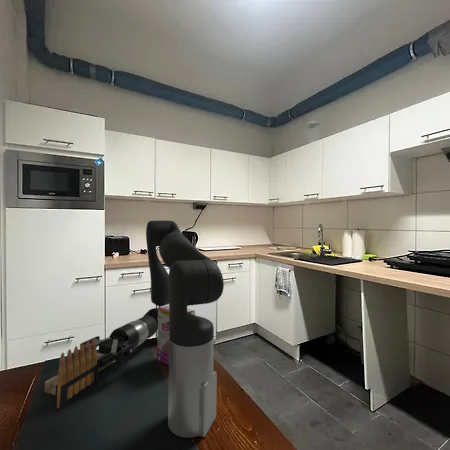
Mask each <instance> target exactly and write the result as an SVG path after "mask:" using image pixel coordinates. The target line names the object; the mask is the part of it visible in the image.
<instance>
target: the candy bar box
mask: <svg viewBox="0 0 450 450" xmlns="http://www.w3.org/2000/svg"><path fill="white" fill-rule="evenodd" d="M157 308H158V320H157V331H156V334H157V335H156V337H157V338H156V361H157V362H159V363H160V364H163V365H166V366H168V367H169V304H167V305H163V306H160V307H159V306H157ZM187 312H188V313H190V314H192V315H196V310H195V309H192V308H188V307H187Z"/></svg>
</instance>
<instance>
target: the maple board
mask: <svg viewBox="0 0 450 450" xmlns="http://www.w3.org/2000/svg"><path fill="white" fill-rule="evenodd" d="M104 355H106V354H99V355H97V360H98V359H99V358H101V357H102V356H104ZM111 364H112V362H110V363H109V364H107V365H106V366H103V367H102V368H100V369H99V368H98V373H99V372H100V371H102V370H104V369H105V368H107V367H108V366H110V365H111ZM57 382H58V374H57V375H55V376H53V377H51V378H50V379H47V380H45V381H44V393H47V394H50V395H53V396H55V392H56V385H57Z"/></svg>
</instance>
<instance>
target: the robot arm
mask: <svg viewBox="0 0 450 450" xmlns="http://www.w3.org/2000/svg"><path fill="white" fill-rule="evenodd" d="M145 236H146V237H145V240H146V250H147V259H148V266H149V274H150V300H151V303H152V304H154V305H155V306H157V307H154V308H151V309H149V310H148V311H147V312H146V313H145V314H144V315H142V317H140V318H138V319H136V320H132V321H129V322H128V323H126V324H123V325H121V326H118V327H117V328H115V329H113V330H112V332H111V333H110V335H109V336H108V337H104V338H103V339H101V337H100V336H99V335H97V336H94V337H92V338H90V339H88V340H89V342H90V346H91V344H92V340H93V338H95V340H96V349H97V348H98V350H96V351H97V355H99V354H106V355H104V356H102V357H101V358H99V359H98V360H97V368H99V369H100V368H102V367H103V366H106V365H107V364H109V363H110V362H111V363H115V362H117V363H119V364H120V363H123V362H125V361H126V360H127V359H128V358H130V357H131V356H133V355H134V354H135V351H136V348H137V347H139V346H140V345H141V344H143V343H144V342H145V341H146V340H149V339H150V338H151V337H153V336H154V335H155V334H157V320H158V307H160V306H163V305H167V304H169V366H168V388H167V390H168V392H167V394H168V395H167V403H168V404H167V406H168V407H167V426H168V428H169V430H170V432H171V433H172V434H174V435H175V436H177V437H181V438H187V439H188V438H189V439H190V438H196V437H202V438H205V437H206V435H207V433H208V432H209V430H210V428H211V426H212V424H213V423H214V421H215V419H216V418H217V377H218V376H217V374H218V373H217V371H216V370H214V341H215V339H214V337H215V332H214V331H215V330H214V329H215V328H214V323H213V322H212V321H211V320H210V319H208V318H206V317H203V316H199V315H196V314H195V315H192V314H190V313H188V312H187V308H188V306H199V305H207V304H212V303H214V302H217V301H218V300H219V299H220V298H221V296H222V295H223V292H224V289H225V288H224V287H225V286H224V285H225V284H224V277H223V273H222V271H221V269H220V267H219V266H218V265H217V263H216V262H215V261H214V260H213V259H211V258H209V256H206V255H205V254H204V253H203V252H201V251H199V249H197V247H195V246H194V245H193V243H191V241H190V240H189V239H188V238H187V237H186V236H185V235H184V234H183V233H182V231H181V230H180V228H179V226H178V224H177V222H175V221H174V220H170V219H169V220H168V219H167V220H149V221H148V222H147V224H146V229H145ZM157 247H158V251H159V252H158V253H159V255H160V258H161V260H162V261H161V260H160V258H159V256H158V253H157ZM162 262H163V263H162ZM163 264H164V265H165V266H166V267H167V268H168V269H169V270H168V271H167V270H166V267H164V265H163ZM88 340H85V341H83V342H81V343H79V347H80V346H81V344H82V343H83V344H84V348H86V343H87V341H88ZM79 351H80V348H78V352H79ZM72 361H73V352H72Z"/></svg>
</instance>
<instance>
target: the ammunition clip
mask: <svg viewBox="0 0 450 450" xmlns="http://www.w3.org/2000/svg"><path fill="white" fill-rule="evenodd" d="M92 338H93V340H92V344H91V346H90V342H89V340H90V339H88V341H87V340H86V341H87V343H86V348H84V344H83V342H81V343H82V344H81V343H80V344H81V346H80V345H79V347H78V346H77V345H75V347H74V348H73V349H74V350H73V352H72V350H71V349H68V351H67V353H66V354H67V355H66V356H65V353H64V352H61V354H60V358H59V363H58V365H59V366H58V371H57V375H58V382H57V385H56V392H55V395H54V408H53V409H55V410H59V411H63V410H64V409H65V408H66V407H68V406H69V405H70V404H72V403H73V402H74V401H76V400H77V399H79V398H80V397H81V396H83V395H85V394H86V393H88V392H89V391H90V390H91V389H93V388H94V387H95V386H97V385H98V384H99V372H98V368H97V351H98V350H97V348H96V340H95V338H94V337H92ZM79 349H80V351H79V352H78V350H79ZM72 353H73V361H72Z"/></svg>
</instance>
